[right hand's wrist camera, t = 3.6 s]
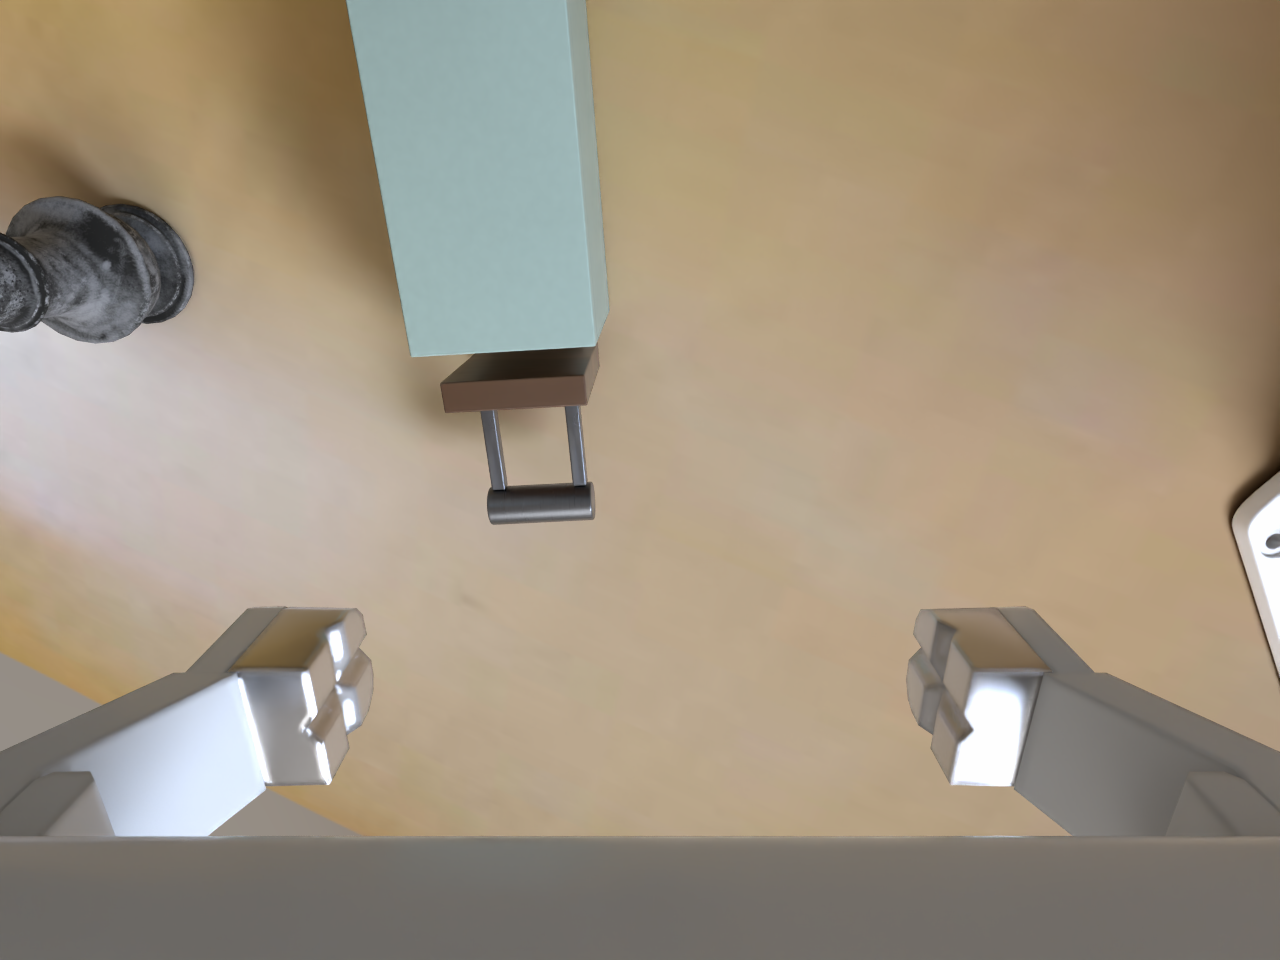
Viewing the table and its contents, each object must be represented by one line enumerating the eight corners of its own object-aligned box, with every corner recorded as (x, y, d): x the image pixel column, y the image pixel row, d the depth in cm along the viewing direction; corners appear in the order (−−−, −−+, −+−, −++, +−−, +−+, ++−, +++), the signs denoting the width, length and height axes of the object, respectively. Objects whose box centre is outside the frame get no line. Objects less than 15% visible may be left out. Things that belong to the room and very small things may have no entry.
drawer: (609, 485, 35) (600, 547, 29) (500, 491, 36) (468, 553, 29) (562, -77, 27) (534, -162, 21) (419, -65, 27) (349, -145, 21)
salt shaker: (69, 308, 33) (-224, 362, 22) (70, 179, 31) (-254, 166, 20) (196, 345, 34) (-29, 415, 23) (204, 220, 32) (-38, 229, 21)
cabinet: (609, 311, 33) (595, 346, 25) (468, 320, 33) (410, 357, 25) (571, -185, 26) (536, -353, 18) (395, -169, 27) (285, -328, 19)
